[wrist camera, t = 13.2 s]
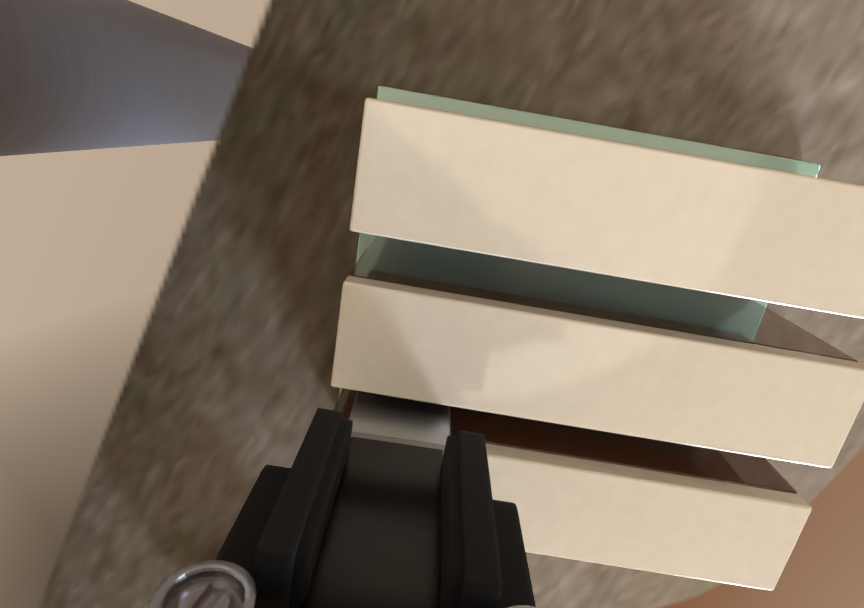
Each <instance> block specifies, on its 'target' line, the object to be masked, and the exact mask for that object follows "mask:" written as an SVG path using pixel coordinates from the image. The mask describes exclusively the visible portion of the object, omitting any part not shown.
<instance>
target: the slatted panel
mask: <svg viewBox="0 0 864 608" xmlns="http://www.w3.org/2000/svg"><path fill="white" fill-rule="evenodd" d="M820 167H821V165H820V164H817V163H812V162H806V161H800V160H795V159H789V158H783V157H778V156H772V155H767V154H761V153H755V152H750V151H744V150H739V149H733V148H727V147H722V146H716V145H710V144H705V143H699V142H694V141H688V140H682V139H677V138H671V137H666V136H660V135H654V134H649V133H643V132H638V131H632V130H626V129H621V128H615V127H609V126H604V125H598V124H593V123H587V122H581V121H576V120H570V119H565V118H559V117H553V116H548V115H542V114H537V113H531V112H525V111H520V110H514V109H508V108H503V107H497V106H492V105H486V104H480V103H475V102H469V101H464V100H458V99H452V98H447V97H441V96H436V95H430V94H424V93H419V92H413V91H407V90H402V89H396V88H391V87H385V86H378V90H377V98H376V99H374V98H366V99H365V103H364V112H363V120H362V128H361V137H360V145H359V154H358V162H357V170H356V179H355V187H354V195H353V204H352V212H351V220H350V230H351V231H353V232H359V240H358V248H357V256H356V264H355V266H354V267H353V269H352V270H351V272H350V274H349V275H348V276H347V278H346V279H345V281H344V282H343V287H342V295H341V303H340V312H339V320H338V328H337V337H336V345H335V353H334V362H333V370H332V378H331V386H332V387H338V388H340V391H339V398H338V400H337V403H336V405H335V408H334V410H335V411H341V412H344V419H347V420H349V417H350V414H351V411H352V408H353V404H354V401H355V398H356V395H357V392H358V391H362V392H368V393H374V394H380V395H386V396H392V397H398V398H404V399H411V400H417V401H423V402H429V403H435V404H441V405H447V406H450V436H457V433H458V430H462V431H468V432H475V433H481V434H484V435H485V442H486V450H487V458H488V466H489V474H490V482H491V490H492V498H493V500H499V501H506V502H512V503H515V504H516V506H517V510H518V515H519V520H520V526H521V531H522V536H523V542H524V547H525V552H530V553H536V554H542V555H549V556H555V557H561V558H568V559H574V560H580V561H587V562H593V563H599V564H606V565H612V566H618V567H624V568H631V569H637V570H643V571H650V572H656V573H662V574H669V575H675V576H681V577H687V578H694V579H700V580H706V581H713V582H719V583H725V584H732V585H738V586H744V587H751V588H758V589H764V590H770V591H772V590H774V588H775V586H776V584H777V582H778V579H779V577H780V575H781V573H782V571H783V569H784V567H785V565H786V563H787V561H788V559H789V556H790V554H791V552H792V550H793V548H794V546H795V544H796V542H797V540H798V538H799V535H800V533H801V531H802V529H803V527H804V525H805V523H806V521H807V518H808V516H809V514H810V512H811V510H812V508H811V506H810V505H809V504H808V503H807V502H806V501H805V500H804V499H803V497H802V496H801V495H799V494H797V491H796V490H795V489H794V488H793V487H792V486H791V485H790V484H789V483H788V482H787V481H786V480H785V479H784V478H783V477H782V476H781V474H780V473H779V472H778V471H777V470H776V469H775V468H774V467H773V466H772V465H771V464H770V463H769V462H768V461H767V460H766V459H765V458H769V459H775V460H781V461H787V462H793V463H800V464H806V465H812V466H818V467H824V468H832V467H833V464H834V462H835V460H836V458H837V456H838V454H839V452H840V450H841V448H842V446H843V443H844V441H845V439H846V437H847V435H848V433H849V431H850V429H851V427H852V425H853V422H854V420H855V418H856V416H857V414H858V412H859V410H860V408H861V406H862V404H863V401H864V364H862V363H860V362H858V361H857V360H855V359H853V358H852V357H850V356H848V355H846V354H845V353H843V352H841V351H840V350H838V349H836V348H834V347H833V346H831V345H829V344H828V343H826V342H824V341H822V340H821V339H819V338H817V337H816V336H814V335H812V334H810V333H809V332H807V331H805V330H803V329H802V328H800V327H798V326H797V325H795V324H793V323H791V322H790V321H788V320H786V319H785V318H783V317H781V316H779V315H778V314H776V313H774V312H773V311H771V310H769V309H767V308H766V306H767V304H768V303H773V304H779V305H784V306H790V307H796V308H802V309H808V310H813V311H819V312H825V313H831V314H837V315H843V316H848V317H854V318H860V319H864V185H858V184H853V183H847V182H841V181H836V180H830V179H824V178H819V177H817V174H818V172H819V169H820Z"/></svg>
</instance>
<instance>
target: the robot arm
mask: <svg viewBox="0 0 864 608" xmlns="http://www.w3.org/2000/svg"><path fill="white" fill-rule="evenodd" d="M352 426H353V420H347V419H344V412H341V411H335V410H328V409H322V408H318V409H317V411H316V414H315V416H314V418H313V420H312V423H311V425H310V427H309V429H308V432H307V434H306V436H305V438H304V441H303V443H302V445H301V447H300V450H299V452H298V454H297V456H296V459H295V461H294V463H293V465H292V468H285V467H278V466H272V465H266V466H265V467H264V468H263V470H262V471H261V473H260V475H259V477H258V479H257V481H256V483H255V485H254V487H253V489H252V491H251V492H250V494H249V496H248V498H247V500H246V502H245V504H244V506H243V508H242V510H241V512H240V513H239V515H238V517H237V519H236V521H235V523H234V525H233V527H232V529H231V531H230V533H229V534H228V536H227V538H226V540H225V542H224V544H223V546H222V548H221V550H220V552H219V554H218V555H217V557H216V559H215V560H206V561H201V562H196V563H192V564H190V565H188V566H185V567H183V568H181V569H179V570H177V571H176V572H174V573H173V574H172V575H170V576H169V577H167V578H166V579H165V580H164V581H163V582H162V584H161V585H160V586H159V587H158V588H157V590H156V591H155V592H154V594H153V596H152V597H151V599H150V601H149V602H148V604H147V606H146V607H145V608H300V606H301V604H302V603H305V599H306V596H307V592H308V589H309V586H310V582H311V579H312V575H313V572H314V568H315V565H316V562H317V558H318V555H319V551H320V548H321V544H322V541H323V538H324V534H325V531H326V527H327V524H328V520H329V517H330V514H331V510H332V507H333V503H334V500H335V497H336V493H337V490H338V486H339V483H340V479H341V476H342V473H343V469H344V466H345V462H346V459H347V455H348V452H349V448H350V441H351V433H352ZM440 608H536V607H535V601H534V596H533V590H532V585H531V580H530V574H529V569H528V563H527V558H526V553H525V547H524V542H523V536H522V531H521V526H520V520H519V515H518V510H517V506H516V504H515V503H512V502H506V501H499V500H493V498H492V490H491V482H490V474H489V466H488V458H487V450H486V442H485V435H484V434H481V433H475V432H468V431H462V430H458V433H457V436H449V435H448V436H447V440H446V444H445V449H444V454H443V459H442V493H441V588H440Z"/></svg>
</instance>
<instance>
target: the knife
mask: <svg viewBox="0 0 864 608" xmlns="http://www.w3.org/2000/svg"><path fill="white" fill-rule="evenodd" d="M349 420H353V426H352V433H351V441H350V448H349V452H348V455H347V459H346V462H345V466H344V469H343V473H342V476H341V479H340V483H339V486H338V490H337V493H336V497H335V500H334V503H333V507H332V510H331V514H330V517H329V520H328V524H327V527H326V531H325V534H324V538H323V541H322V544H321V548H320V551H319V555H318V558H317V562H316V565H315V568H314V572H313V575H312V579H311V582H310V586H309V589H308V592H307V596H306V599H305V603H302V604H301V606H300V608H440V588H441V493H442V459H443V454H444V449H445V444H446V440H447V436H448V435H449V436H450V406H447V405H441V404H435V403H429V402H423V401H417V400H411V399H404V398H398V397H392V396H386V395H380V394H374V393H368V392H362V391H358V392H357V395H356V398H355V401H354V404H353V408H352V411H351V414H350V417H349Z"/></svg>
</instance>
